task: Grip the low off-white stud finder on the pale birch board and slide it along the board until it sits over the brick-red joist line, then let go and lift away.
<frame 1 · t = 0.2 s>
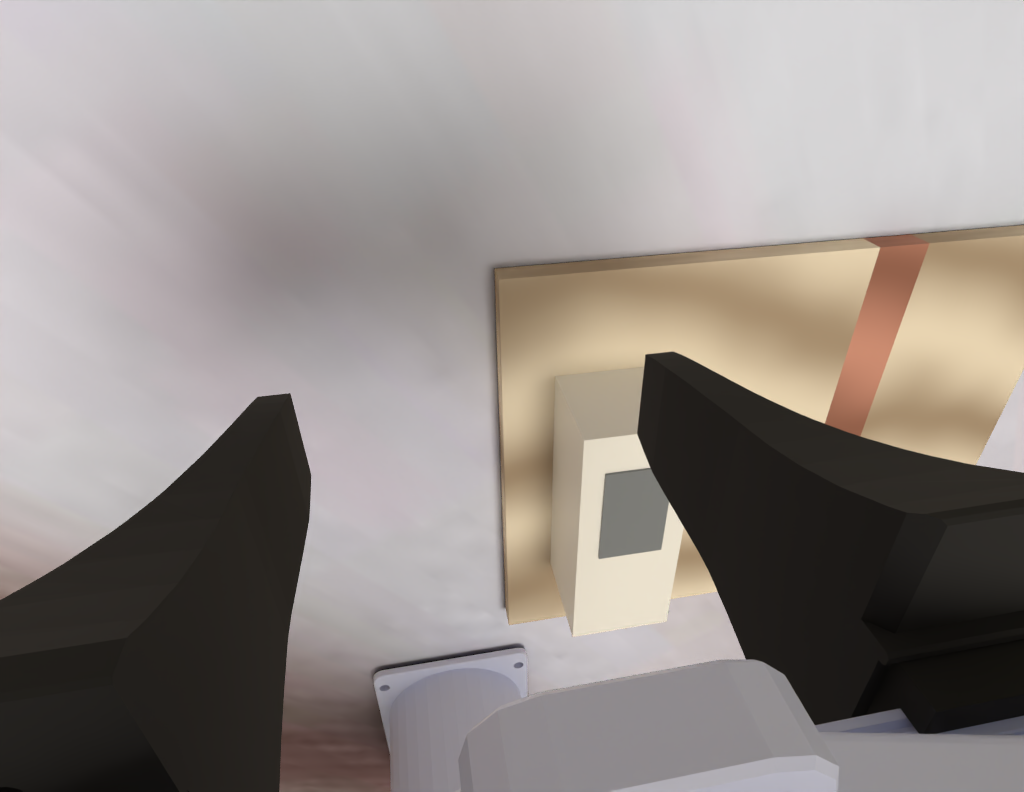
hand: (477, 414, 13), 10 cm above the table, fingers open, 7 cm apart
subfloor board: (754, 437, 28), on the table
stud finder: (599, 473, 26), point 1 cm above the table, touching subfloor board
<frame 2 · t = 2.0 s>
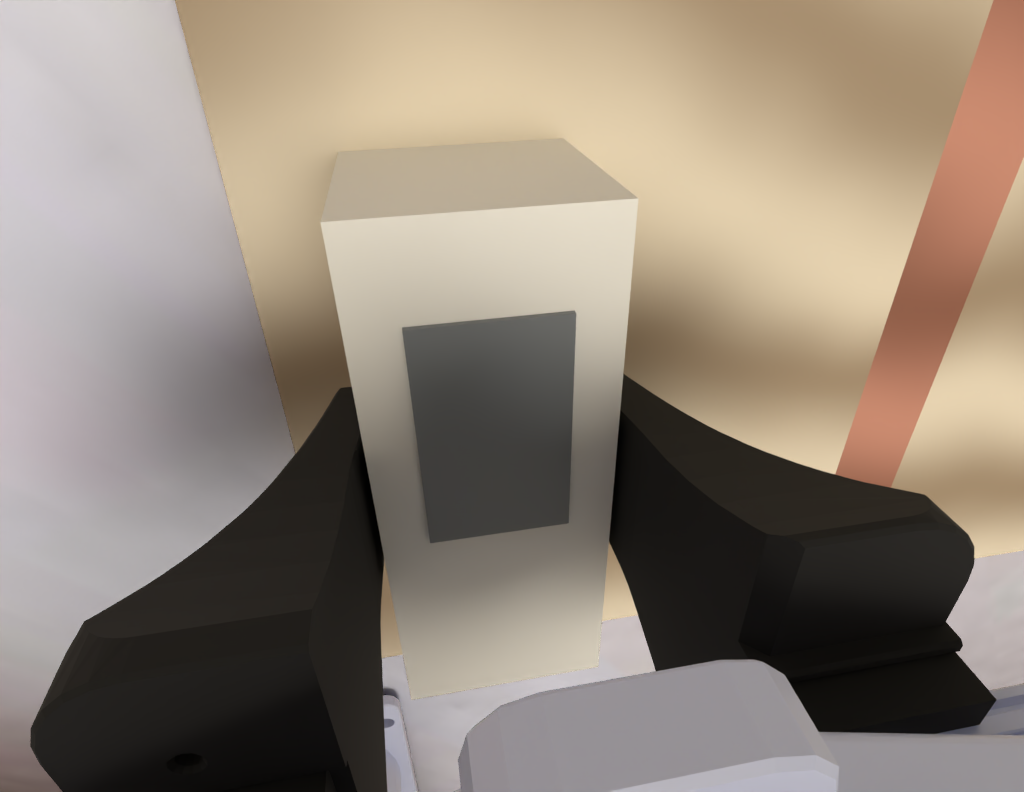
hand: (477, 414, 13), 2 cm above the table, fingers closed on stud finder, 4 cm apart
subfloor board: (763, 330, 16), on the table
stud finder: (470, 384, 14), point 1 cm above the table, touching gripper, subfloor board
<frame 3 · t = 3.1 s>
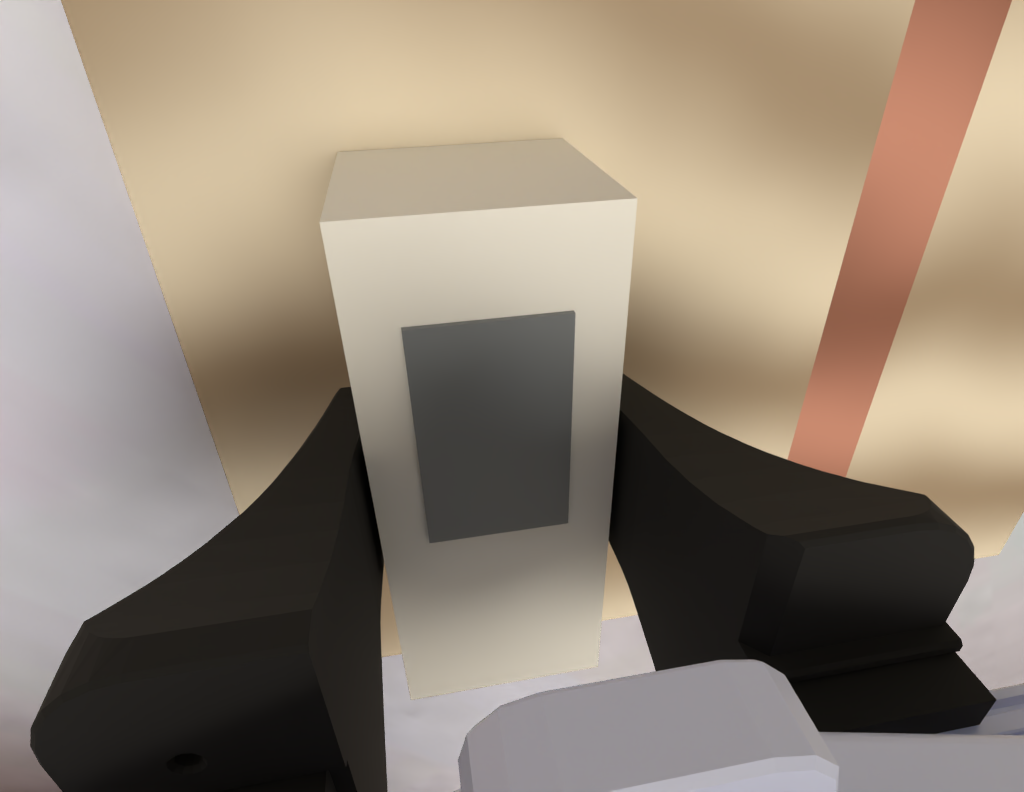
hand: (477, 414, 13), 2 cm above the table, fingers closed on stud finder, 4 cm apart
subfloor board: (702, 337, 16), on the table
stud finder: (469, 384, 14), point 1 cm above the table, touching gripper
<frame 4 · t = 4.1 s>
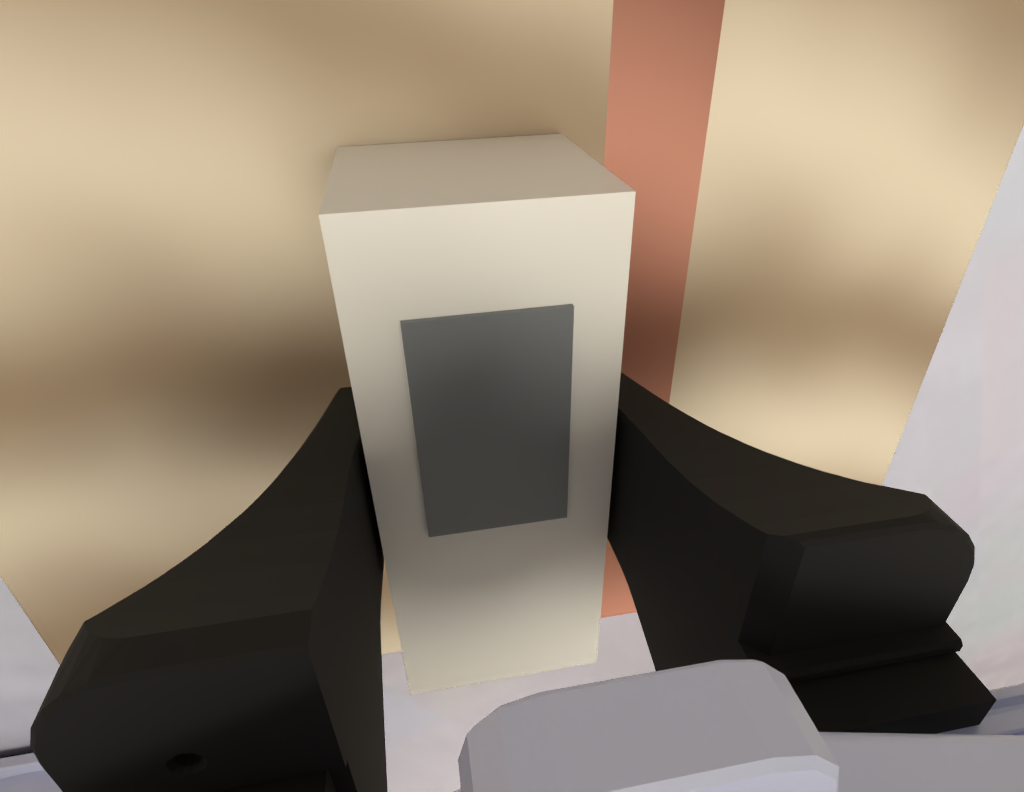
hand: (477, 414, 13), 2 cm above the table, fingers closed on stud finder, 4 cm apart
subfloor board: (478, 358, 15), on the table
stud finder: (468, 380, 14), point 1 cm above the table, touching gripper
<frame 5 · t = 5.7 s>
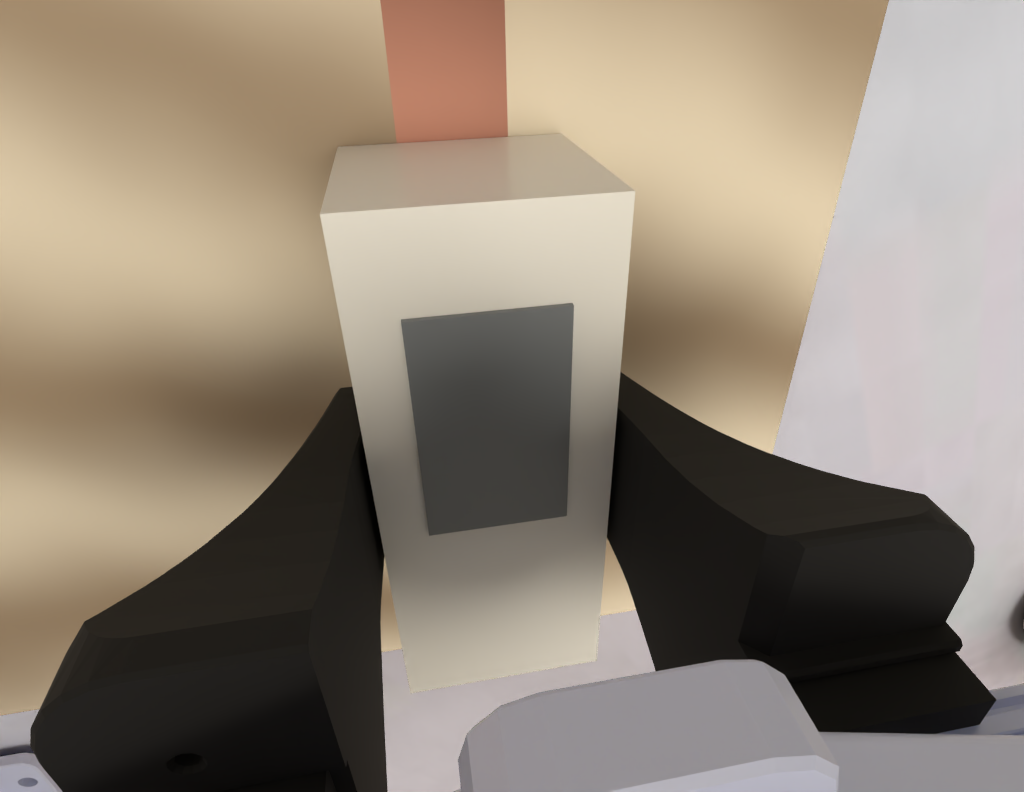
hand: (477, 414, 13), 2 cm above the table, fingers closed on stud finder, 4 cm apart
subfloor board: (312, 374, 14), on the table
stud finder: (469, 379, 14), point 1 cm above the table, touching gripper
when the fingers open (2 cm above the table, at t = 6.4 s): stud finder stays where it is, resting on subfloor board.
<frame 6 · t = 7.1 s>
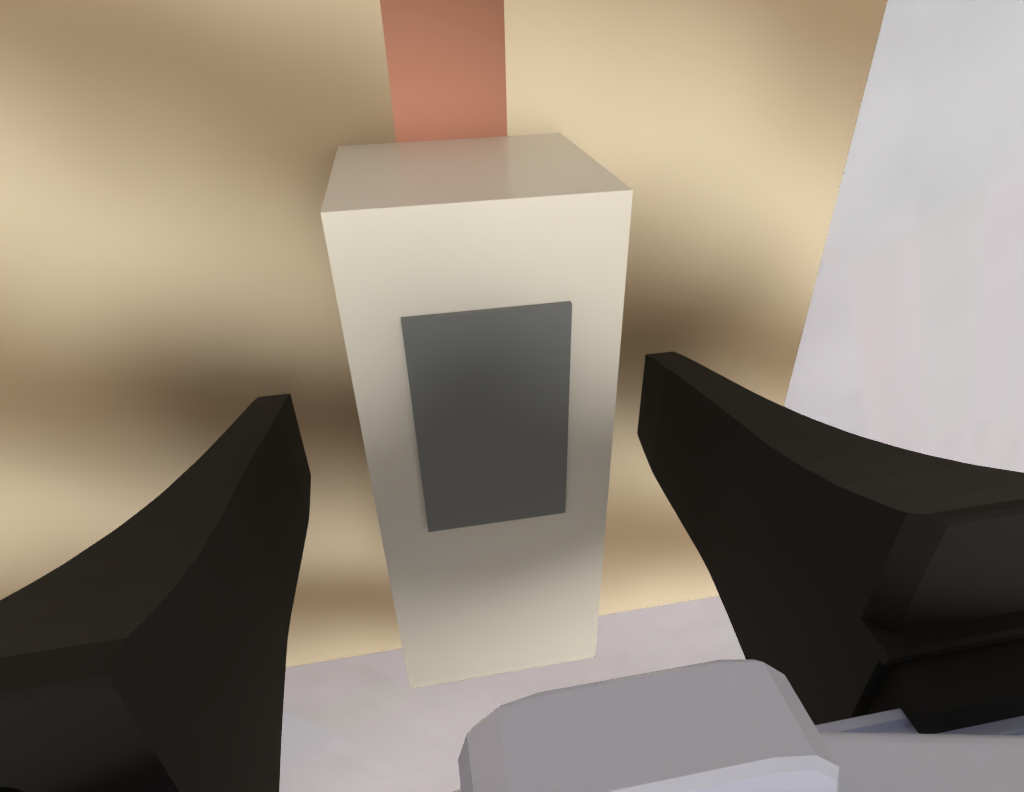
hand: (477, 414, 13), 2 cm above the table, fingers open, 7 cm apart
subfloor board: (312, 373, 14), on the table
stud finder: (468, 377, 14), point 1 cm above the table, touching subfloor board
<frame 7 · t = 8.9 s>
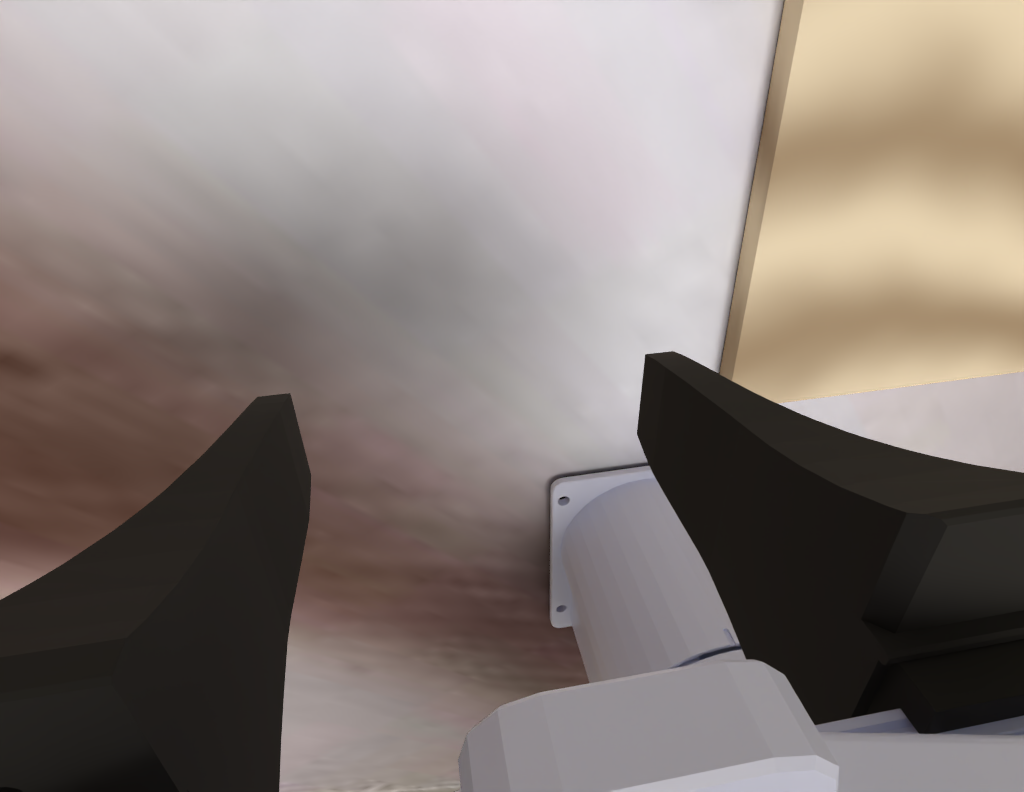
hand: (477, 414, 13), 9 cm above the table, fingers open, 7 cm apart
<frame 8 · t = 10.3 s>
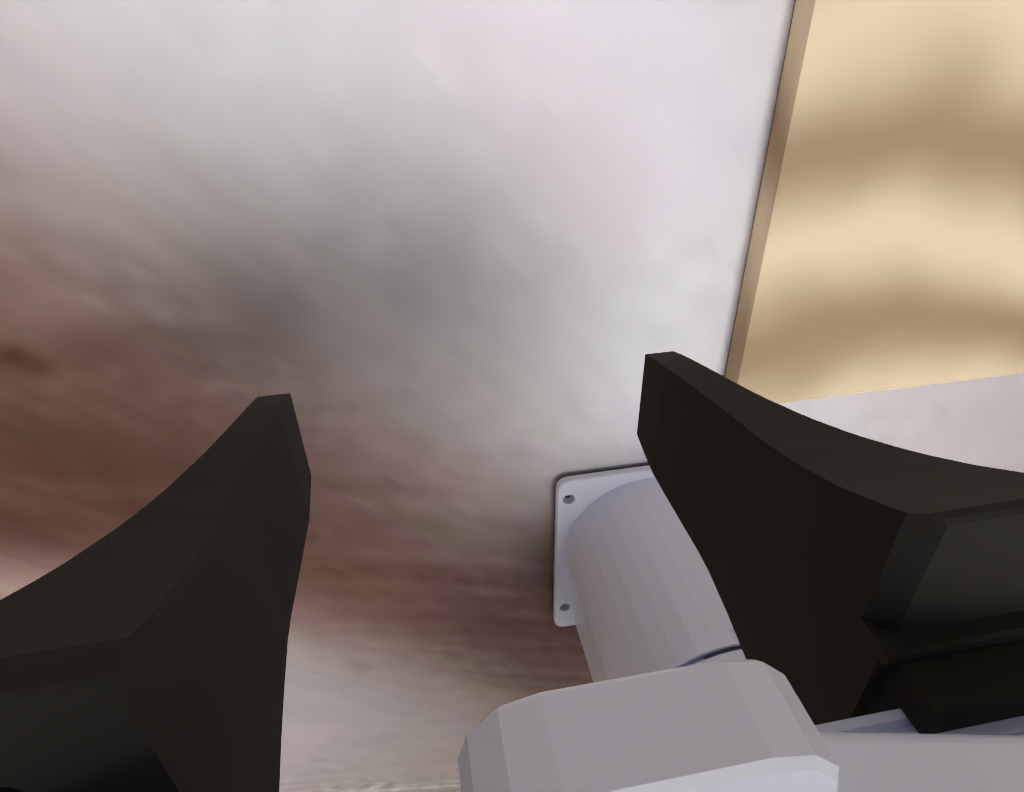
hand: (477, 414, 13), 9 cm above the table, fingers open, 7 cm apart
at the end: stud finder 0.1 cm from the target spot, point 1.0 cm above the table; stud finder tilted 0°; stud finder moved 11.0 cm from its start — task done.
